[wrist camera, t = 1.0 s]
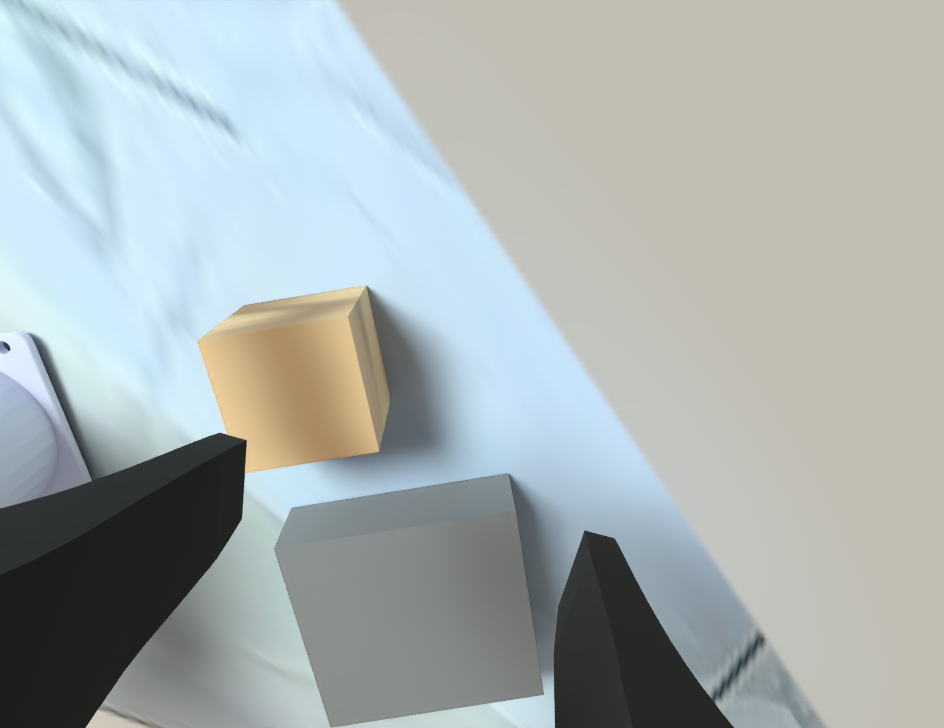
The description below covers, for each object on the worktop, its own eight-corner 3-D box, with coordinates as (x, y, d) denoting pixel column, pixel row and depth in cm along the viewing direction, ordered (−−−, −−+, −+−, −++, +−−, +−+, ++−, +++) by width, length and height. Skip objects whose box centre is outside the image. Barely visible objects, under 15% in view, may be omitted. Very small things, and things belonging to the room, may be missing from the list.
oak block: (277, 416, 26) (240, 474, 21) (245, 304, 24) (197, 340, 20) (391, 397, 26) (379, 451, 21) (366, 285, 24) (347, 316, 20)
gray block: (341, 674, 31) (330, 727, 28) (291, 508, 28) (274, 548, 25) (534, 644, 31) (543, 694, 28) (508, 473, 27) (515, 510, 25)
